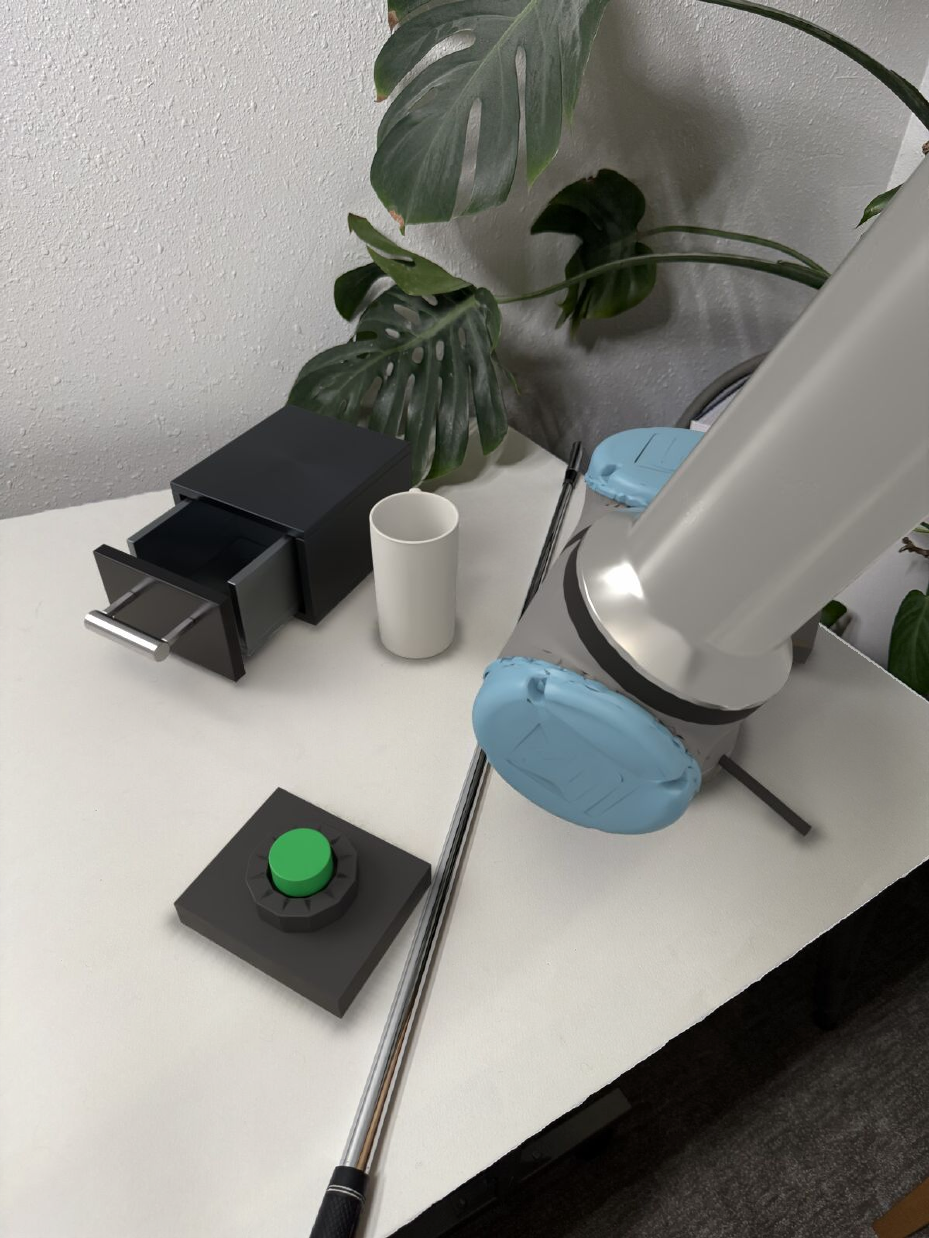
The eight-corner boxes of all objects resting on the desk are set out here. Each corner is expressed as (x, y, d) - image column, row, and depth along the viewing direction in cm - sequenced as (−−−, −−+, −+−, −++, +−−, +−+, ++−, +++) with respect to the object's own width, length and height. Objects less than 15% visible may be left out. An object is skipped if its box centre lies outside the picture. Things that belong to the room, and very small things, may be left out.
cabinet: (315, 626, 74) (303, 532, 68) (191, 574, 79) (168, 481, 73) (413, 531, 85) (411, 442, 78) (298, 491, 90) (287, 403, 83)
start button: (344, 860, 53) (342, 843, 52) (308, 907, 51) (305, 890, 50) (297, 835, 55) (294, 818, 53) (259, 879, 52) (255, 863, 51)
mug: (458, 662, 71) (460, 543, 63) (375, 662, 71) (367, 543, 63) (455, 583, 79) (457, 468, 71) (380, 584, 79) (373, 468, 71)
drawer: (197, 720, 65) (175, 642, 60) (75, 659, 69) (45, 582, 64) (345, 580, 77) (338, 506, 72) (234, 537, 82) (220, 464, 77)
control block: (431, 883, 56) (431, 847, 54) (341, 1019, 50) (335, 986, 47) (282, 806, 61) (275, 769, 58) (180, 922, 54) (166, 886, 51)
